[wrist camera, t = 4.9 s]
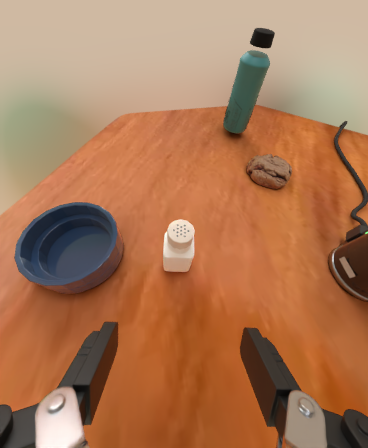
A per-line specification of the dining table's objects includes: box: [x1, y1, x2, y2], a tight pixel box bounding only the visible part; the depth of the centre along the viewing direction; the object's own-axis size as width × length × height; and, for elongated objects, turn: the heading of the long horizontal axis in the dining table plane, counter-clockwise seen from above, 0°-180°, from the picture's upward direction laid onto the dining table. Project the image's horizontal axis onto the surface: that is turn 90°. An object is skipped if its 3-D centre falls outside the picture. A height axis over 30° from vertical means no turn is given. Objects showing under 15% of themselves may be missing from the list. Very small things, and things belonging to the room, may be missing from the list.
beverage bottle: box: [223, 28, 275, 133], centre depth 42 cm, size 6×7×20 cm
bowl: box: [15, 202, 124, 294], centre depth 26 cm, size 12×12×5 cm
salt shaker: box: [163, 219, 195, 272], centre depth 25 cm, size 4×4×10 cm
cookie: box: [247, 154, 292, 189], centre depth 41 cm, size 10×11×3 cm
